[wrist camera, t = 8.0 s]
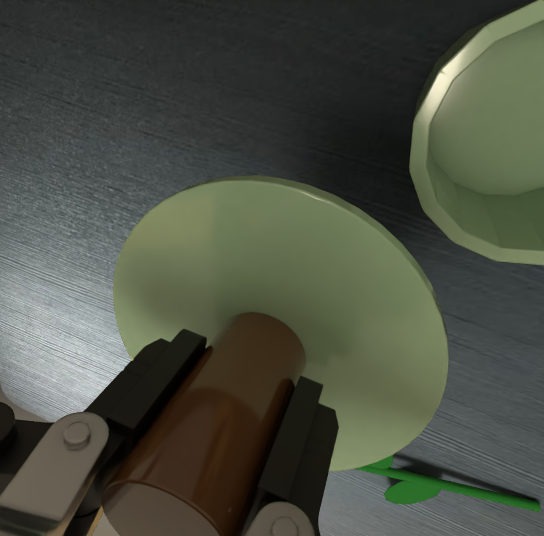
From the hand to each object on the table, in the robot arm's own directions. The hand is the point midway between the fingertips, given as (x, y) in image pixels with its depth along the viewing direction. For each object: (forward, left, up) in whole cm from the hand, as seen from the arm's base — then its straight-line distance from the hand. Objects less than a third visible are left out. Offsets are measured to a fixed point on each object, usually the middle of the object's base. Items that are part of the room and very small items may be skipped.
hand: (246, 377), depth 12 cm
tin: (+3, +10, -19) cm, 22 cm away
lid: (0, 0, -2) cm, 2 cm away
